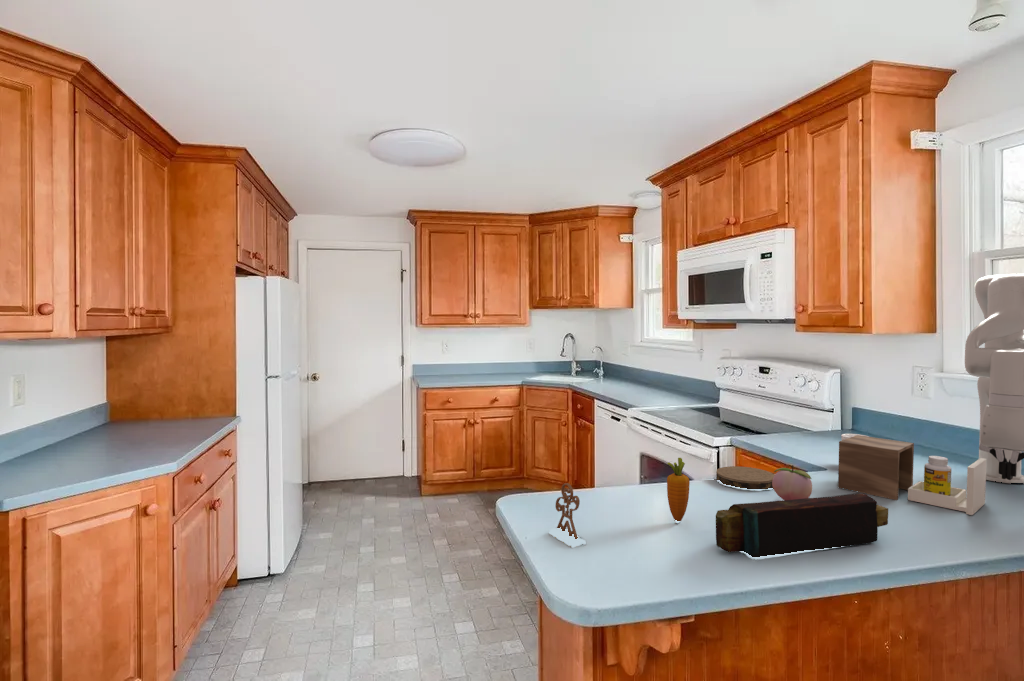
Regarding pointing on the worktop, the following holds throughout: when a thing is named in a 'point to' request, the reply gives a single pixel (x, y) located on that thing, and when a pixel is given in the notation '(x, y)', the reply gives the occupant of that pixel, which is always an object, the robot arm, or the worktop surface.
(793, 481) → the decorative fruit
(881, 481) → the cabinet
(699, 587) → the worktop surface
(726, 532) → the packaged item
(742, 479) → the brown round disc
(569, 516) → the gingerbread man figurine
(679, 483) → the carrot
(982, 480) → the drawer
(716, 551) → the worktop surface
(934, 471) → the supplement bottle
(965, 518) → the worktop surface
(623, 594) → the worktop surface
